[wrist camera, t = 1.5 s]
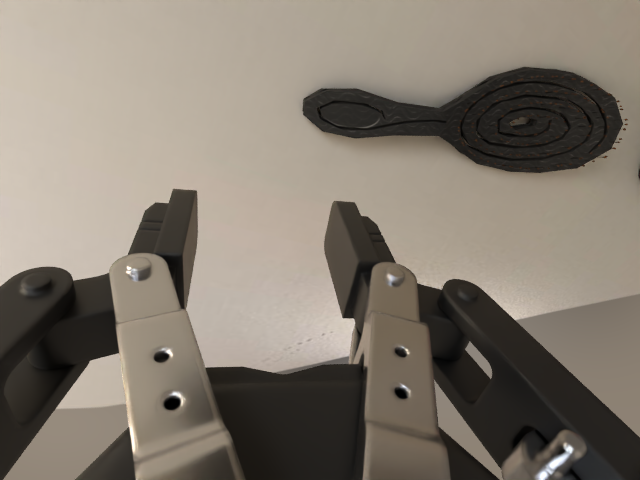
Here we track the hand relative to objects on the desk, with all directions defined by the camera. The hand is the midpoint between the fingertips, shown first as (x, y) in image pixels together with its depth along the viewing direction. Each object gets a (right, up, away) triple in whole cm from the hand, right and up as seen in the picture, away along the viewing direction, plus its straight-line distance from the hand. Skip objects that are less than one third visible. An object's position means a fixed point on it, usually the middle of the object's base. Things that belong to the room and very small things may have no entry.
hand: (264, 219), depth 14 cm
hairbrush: (+13, +9, +18) cm, 24 cm away
